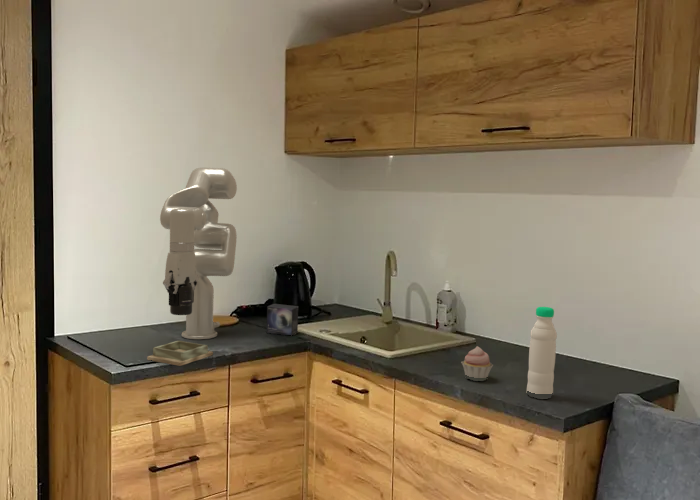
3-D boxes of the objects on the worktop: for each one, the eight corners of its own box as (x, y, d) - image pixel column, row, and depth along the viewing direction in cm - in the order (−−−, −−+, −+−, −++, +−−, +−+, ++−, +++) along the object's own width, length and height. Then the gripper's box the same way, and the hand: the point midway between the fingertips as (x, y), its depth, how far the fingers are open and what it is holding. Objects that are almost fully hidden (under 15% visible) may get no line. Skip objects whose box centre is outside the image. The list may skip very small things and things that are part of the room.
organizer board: (181, 349, 226) (181, 339, 226) (212, 354, 221) (213, 344, 220) (147, 359, 212) (147, 348, 212) (180, 365, 206) (180, 354, 206)
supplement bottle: (186, 316, 211) (187, 278, 210) (166, 314, 212) (166, 276, 211) (196, 312, 218) (196, 275, 217) (176, 310, 219) (176, 273, 218)
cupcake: (482, 374, 210) (484, 342, 209) (497, 382, 201) (499, 349, 200) (455, 375, 207) (456, 343, 206) (468, 384, 198) (470, 350, 197)
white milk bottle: (527, 399, 186) (533, 309, 184) (525, 391, 193) (530, 304, 191) (554, 401, 185) (560, 310, 183) (550, 393, 192) (556, 306, 190)
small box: (265, 333, 255) (266, 306, 253) (272, 330, 261) (273, 303, 260) (291, 336, 251) (292, 308, 250) (298, 333, 257) (299, 305, 256)
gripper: (190, 245, 222) (189, 299, 224) (153, 249, 207) (152, 306, 209) (209, 246, 219) (208, 301, 221) (172, 250, 204) (172, 309, 205)
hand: (181, 303), depth 215 cm, fingers closed on supplement bottle, 6 cm apart
